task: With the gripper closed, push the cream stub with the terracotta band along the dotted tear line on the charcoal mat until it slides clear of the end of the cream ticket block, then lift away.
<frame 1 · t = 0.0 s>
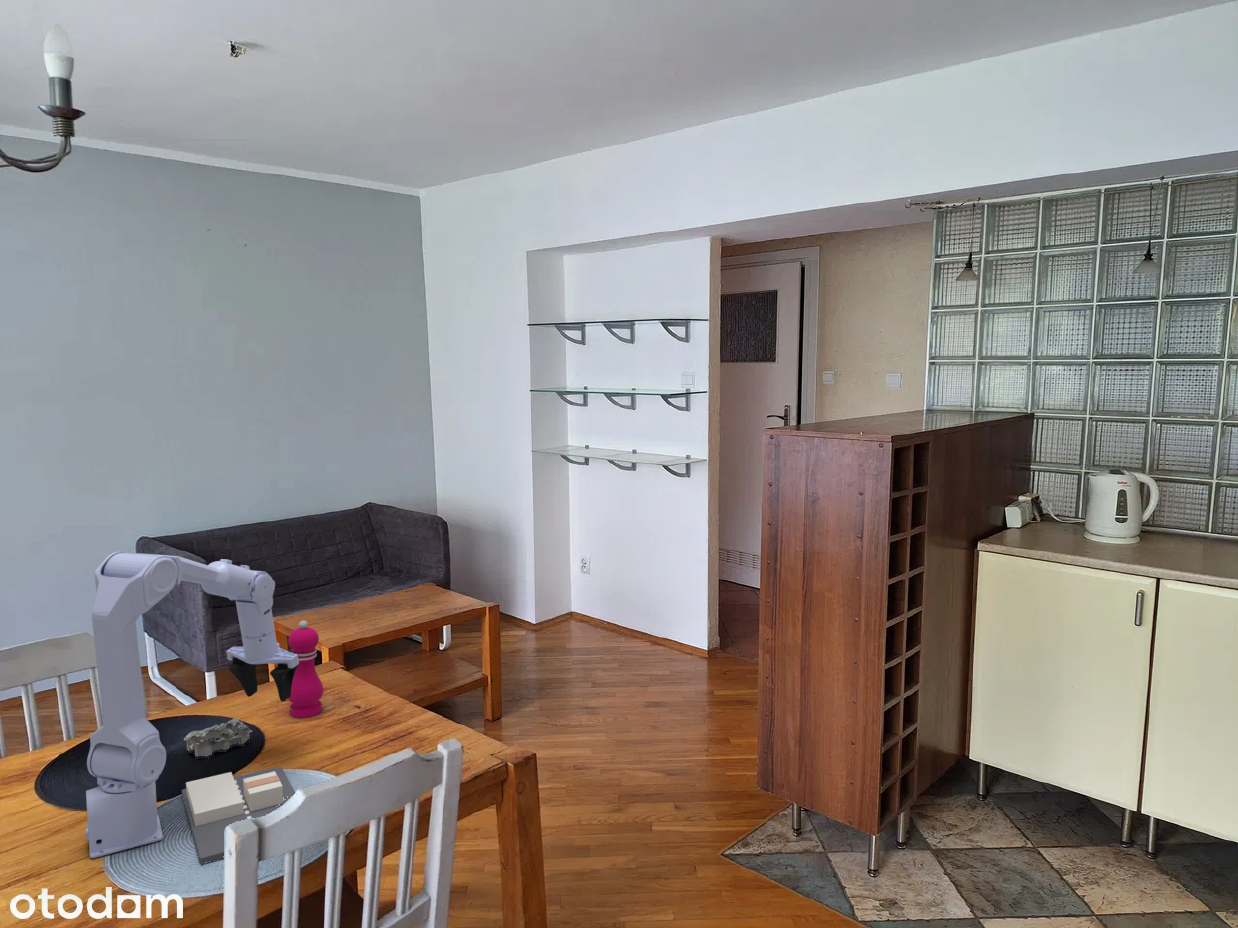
hand: (269, 696, 158), 11 cm above the table, tool pointing down, fingers open, 7 cm apart
stub: (262, 790, 138), point 3 cm above the table, slide at 0.0 cm
egg carton: (218, 748, 160), on the table
pepper mill: (306, 712, 176), on the table
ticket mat: (245, 813, 136), on the table
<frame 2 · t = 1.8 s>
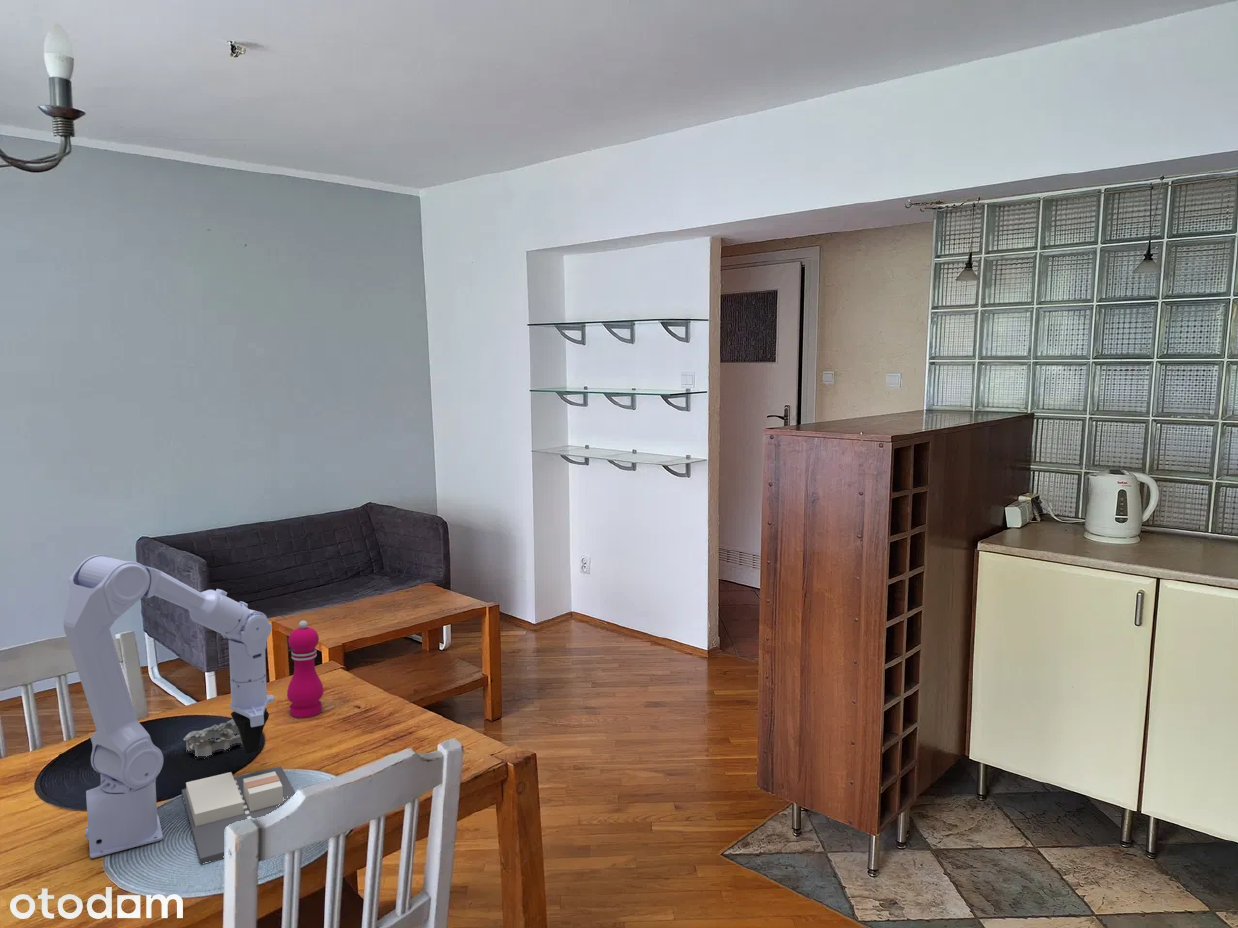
hand: (251, 751, 146), 5 cm above the table, tool pointing down, fingers closed
nothing on the table moved.
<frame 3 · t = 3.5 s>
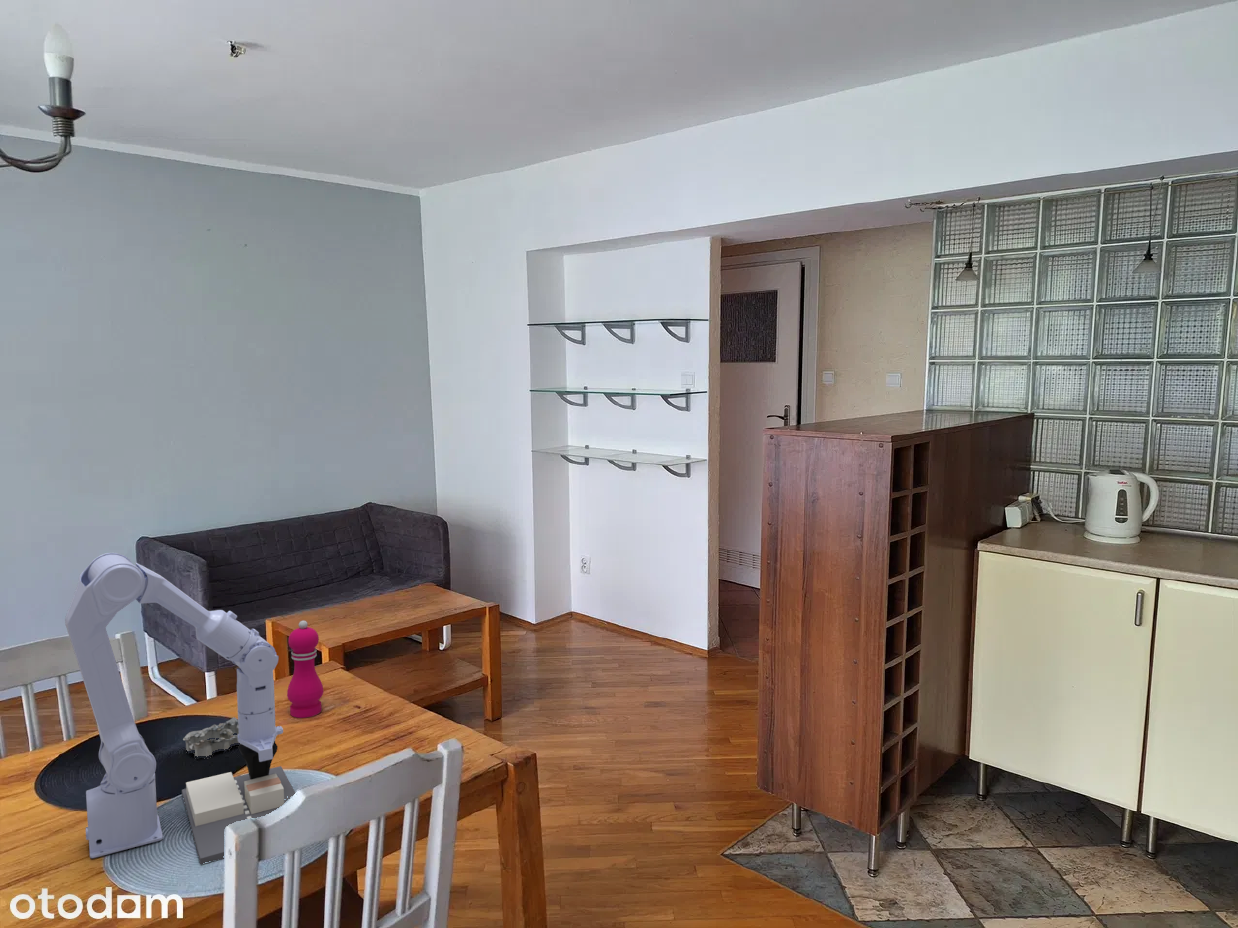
hand: (259, 784, 141), 2 cm above the table, tool pointing down, fingers closed
stub: (264, 792, 137), point 3 cm above the table, slide at 1.0 cm, touching gripper
everything else where it was.
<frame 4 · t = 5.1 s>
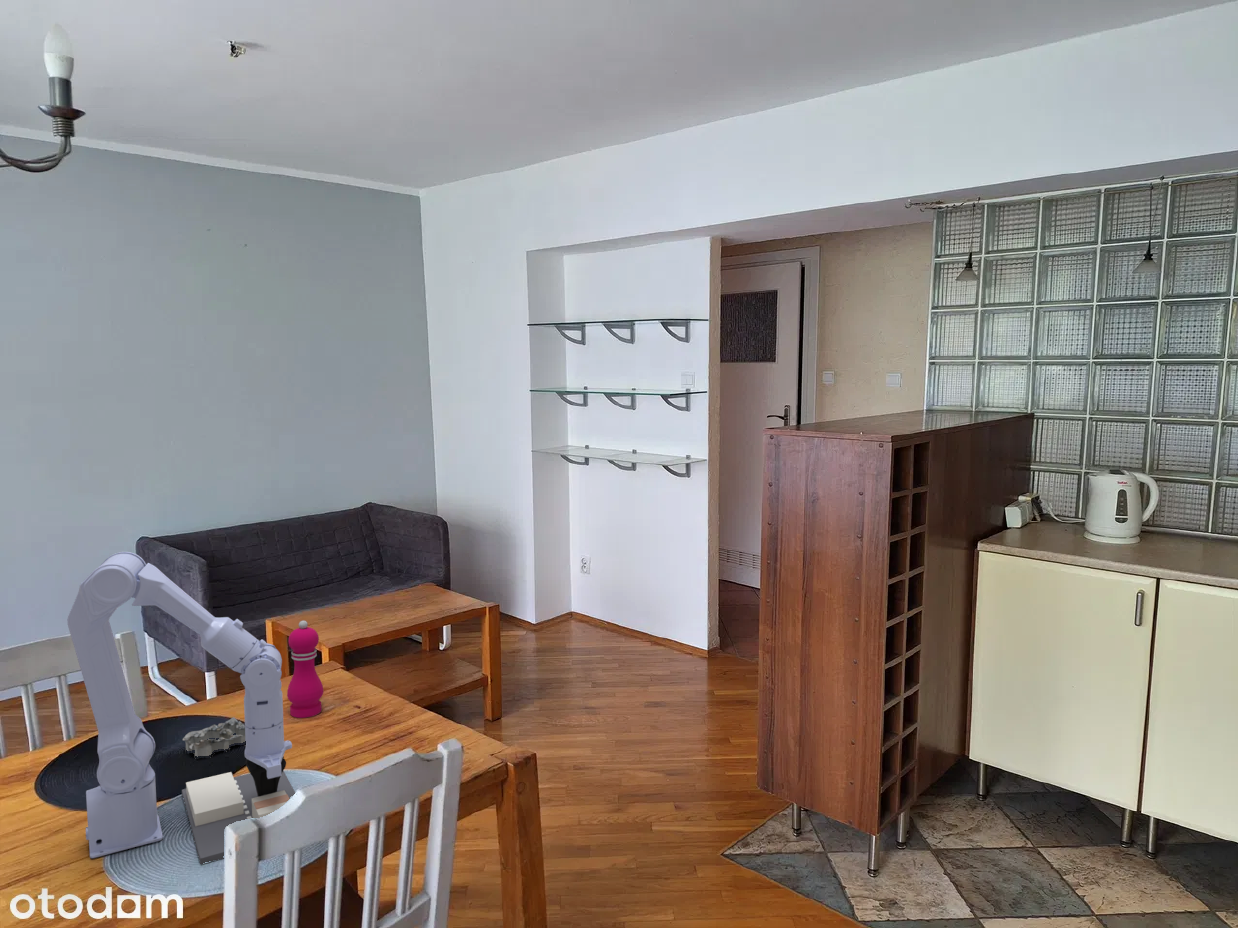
hand: (267, 801, 135), 2 cm above the table, tool pointing down, fingers closed
stub: (272, 810, 132), point 3 cm above the table, slide at 7.6 cm, touching gripper
everything else where it was.
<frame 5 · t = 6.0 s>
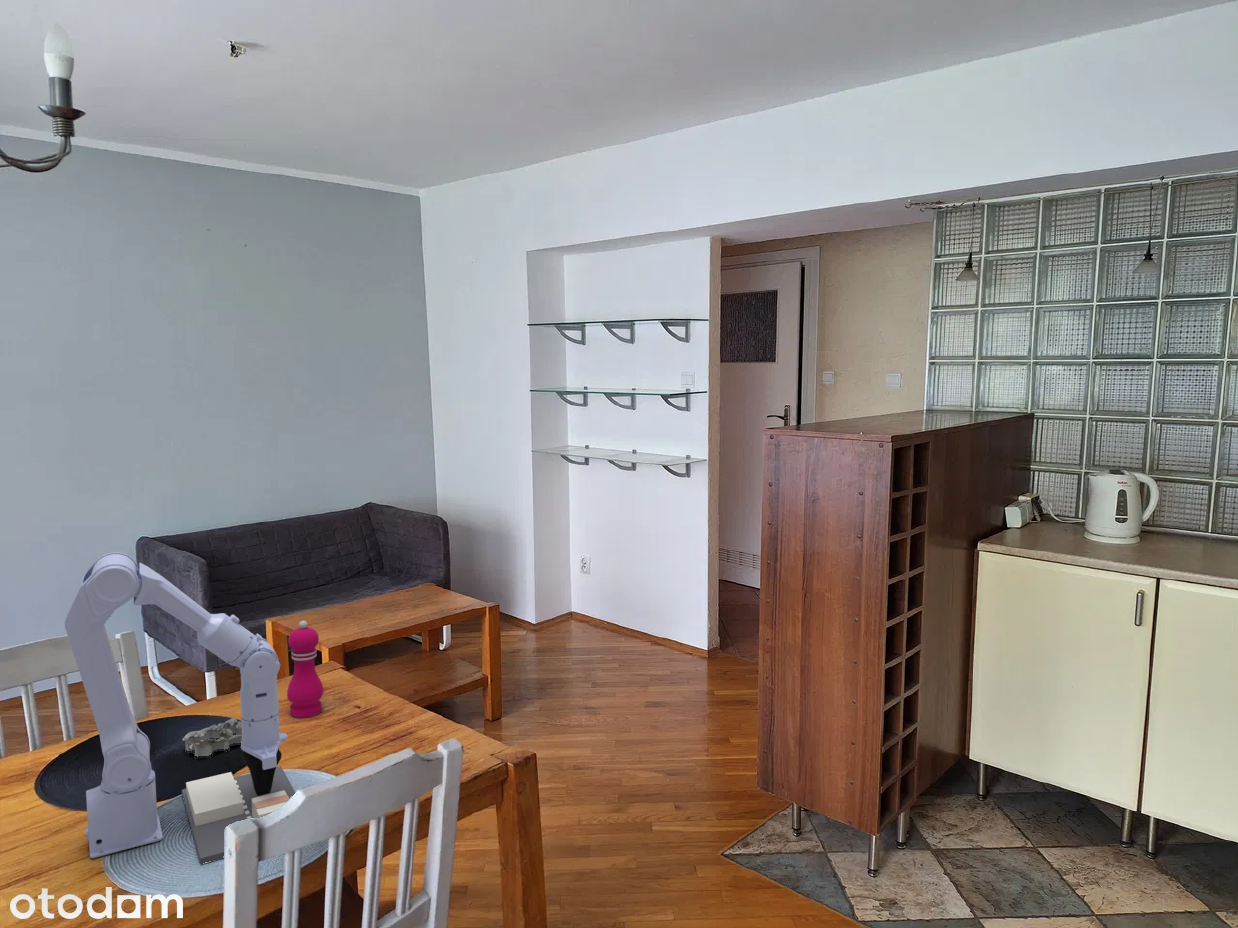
hand: (263, 792, 138), 2 cm above the table, tool pointing down, fingers closed
stub: (272, 810, 132), point 3 cm above the table, slide at 7.7 cm
everything else where it was.
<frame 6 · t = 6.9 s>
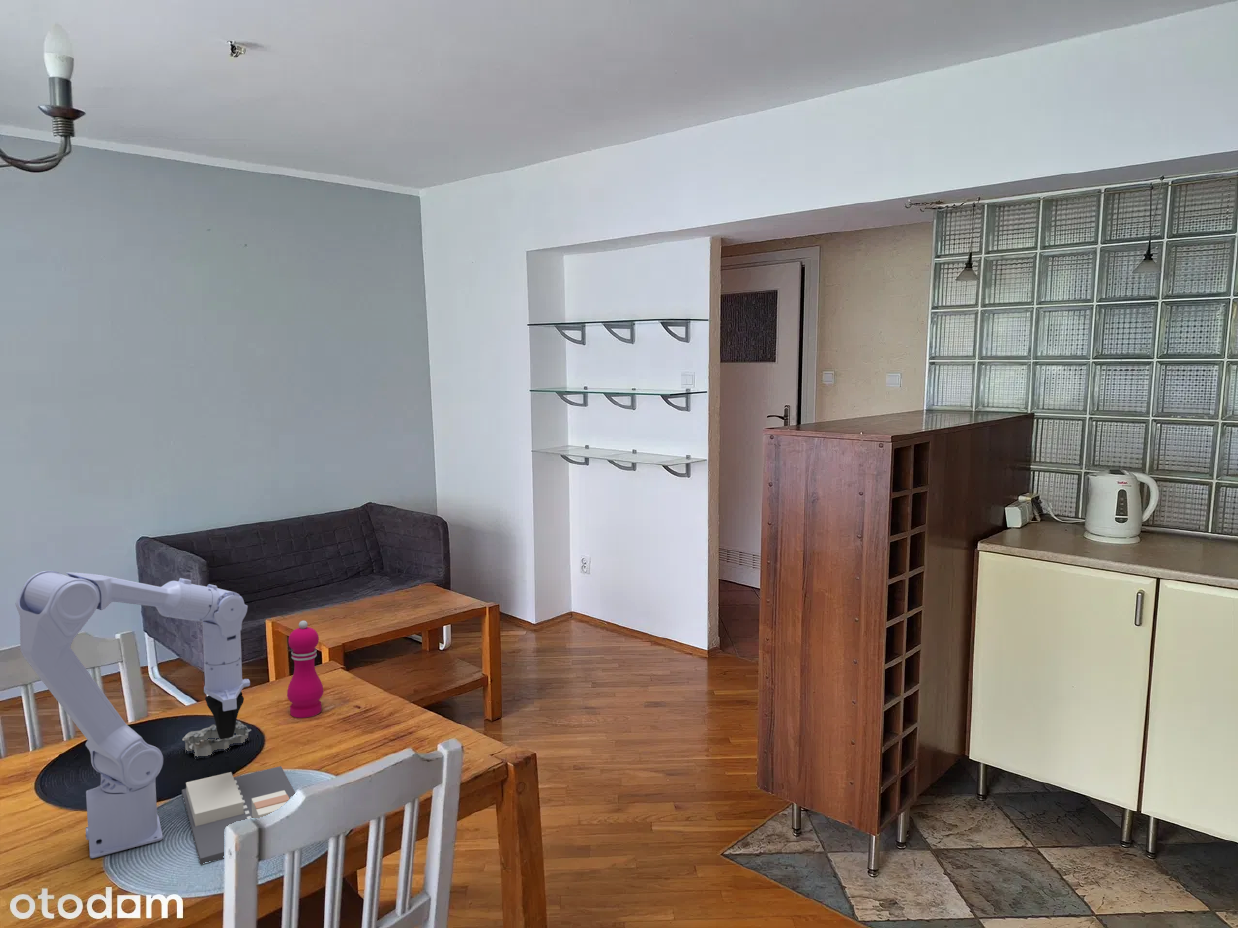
hand: (226, 736, 141), 10 cm above the table, tool pointing down, fingers closed
nothing on the table moved.
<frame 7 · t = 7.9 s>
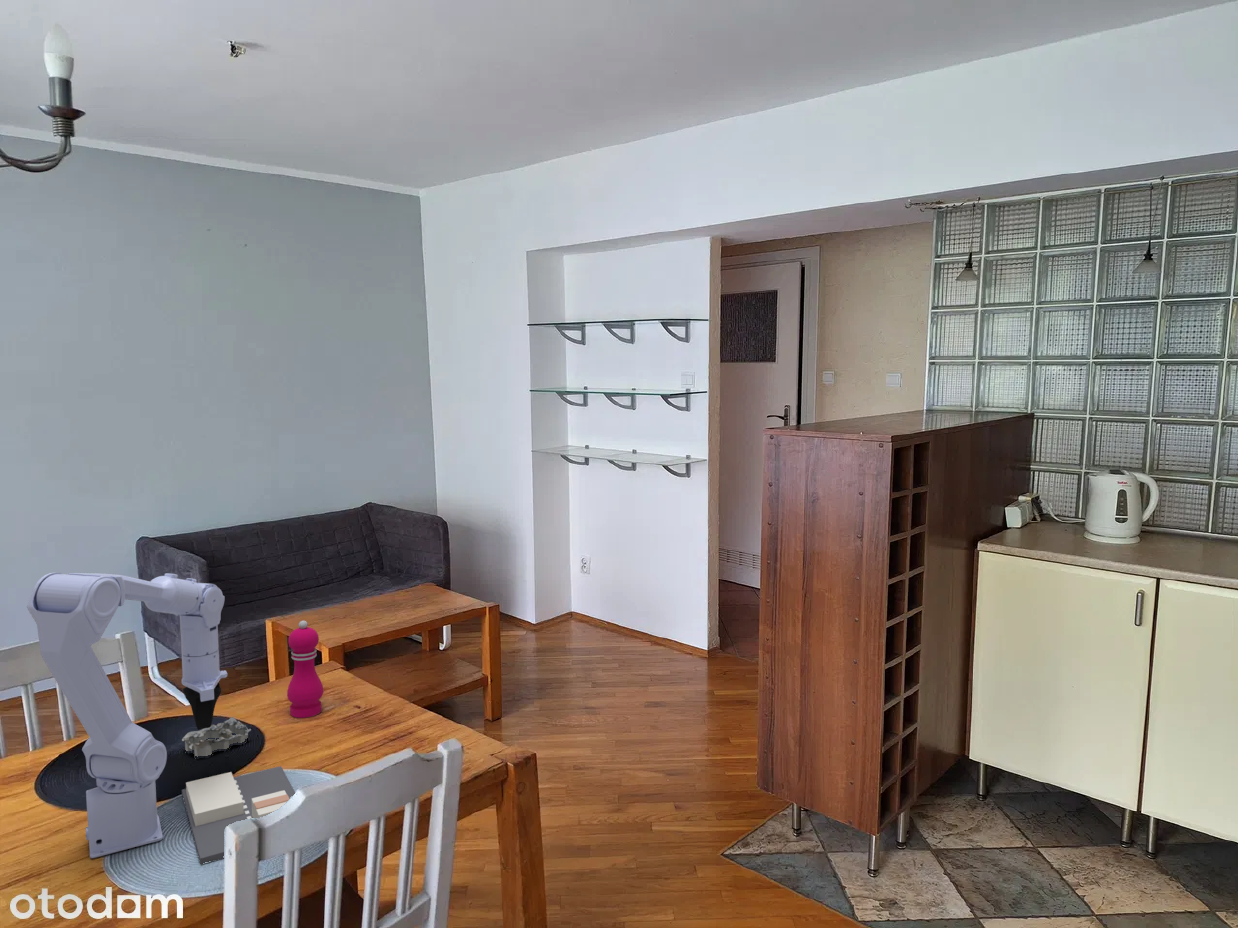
hand: (203, 727, 144), 10 cm above the table, tool pointing down, fingers closed
nothing on the table moved.
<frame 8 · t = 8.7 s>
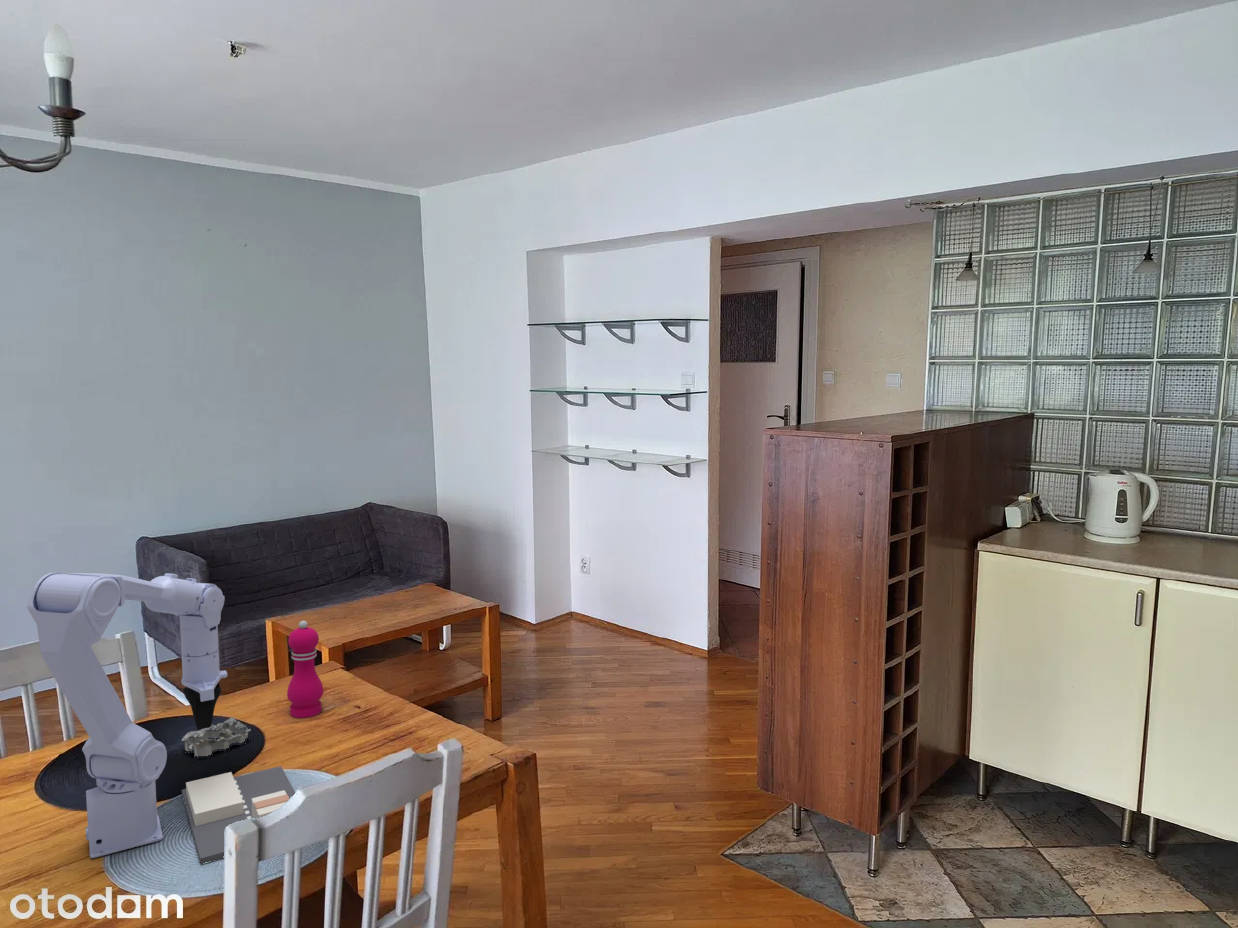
hand: (203, 727, 144), 10 cm above the table, tool pointing down, fingers closed
nothing on the table moved.
at the end: stub slide at 7.7 cm; the gripper is holding nothing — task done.
